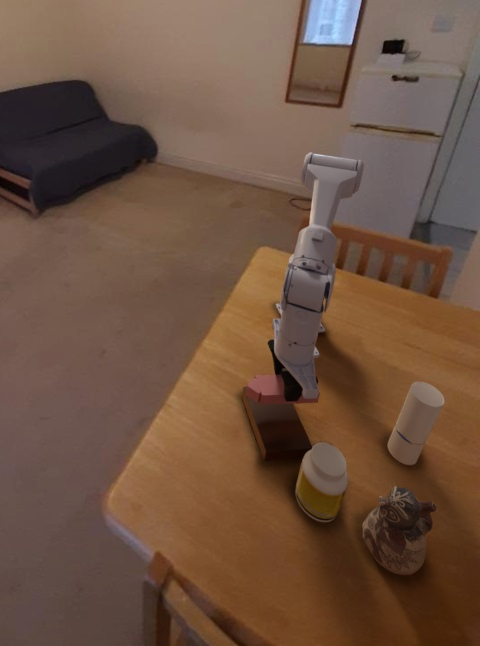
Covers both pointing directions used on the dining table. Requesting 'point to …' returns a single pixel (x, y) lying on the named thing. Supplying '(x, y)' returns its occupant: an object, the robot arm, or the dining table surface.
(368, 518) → the figurine
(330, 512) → the pill bottle
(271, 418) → the walnut block
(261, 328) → the dining table surface
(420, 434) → the tube
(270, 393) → the boat
